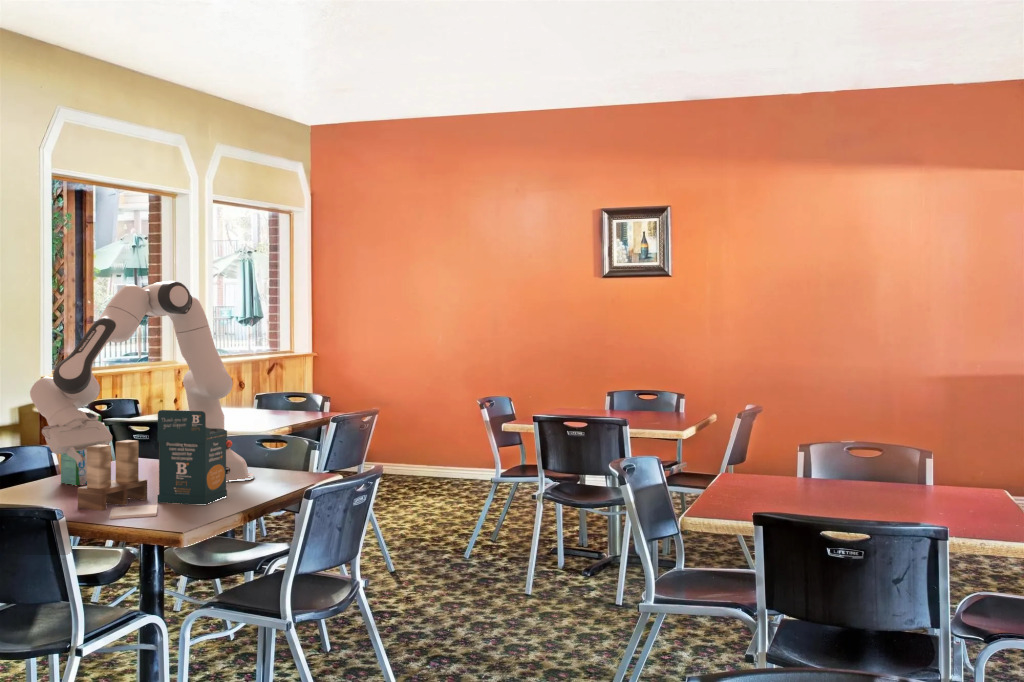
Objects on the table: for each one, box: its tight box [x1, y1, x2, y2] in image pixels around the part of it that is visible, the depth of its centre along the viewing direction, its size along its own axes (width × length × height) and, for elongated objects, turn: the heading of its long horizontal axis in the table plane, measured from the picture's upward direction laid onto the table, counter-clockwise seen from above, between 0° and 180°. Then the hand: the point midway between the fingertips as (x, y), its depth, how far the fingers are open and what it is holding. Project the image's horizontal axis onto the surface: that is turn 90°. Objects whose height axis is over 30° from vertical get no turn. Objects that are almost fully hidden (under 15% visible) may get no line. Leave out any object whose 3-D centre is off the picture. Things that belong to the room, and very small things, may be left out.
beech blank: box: [115, 439, 140, 482], centre depth 269 cm, size 4×4×12 cm
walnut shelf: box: [77, 478, 148, 512], centre depth 264 cm, size 18×9×6 cm, turn 161°
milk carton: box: [60, 407, 102, 486], centre depth 297 cm, size 9×9×25 cm
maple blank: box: [86, 444, 112, 489], centre depth 258 cm, size 4×4×12 cm
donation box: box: [157, 409, 228, 505], centre depth 271 cm, size 16×16×28 cm
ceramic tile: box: [109, 504, 159, 520], centre depth 251 cm, size 12×12×1 cm
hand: (94, 458), depth 259 cm, fingers open, 8 cm apart
